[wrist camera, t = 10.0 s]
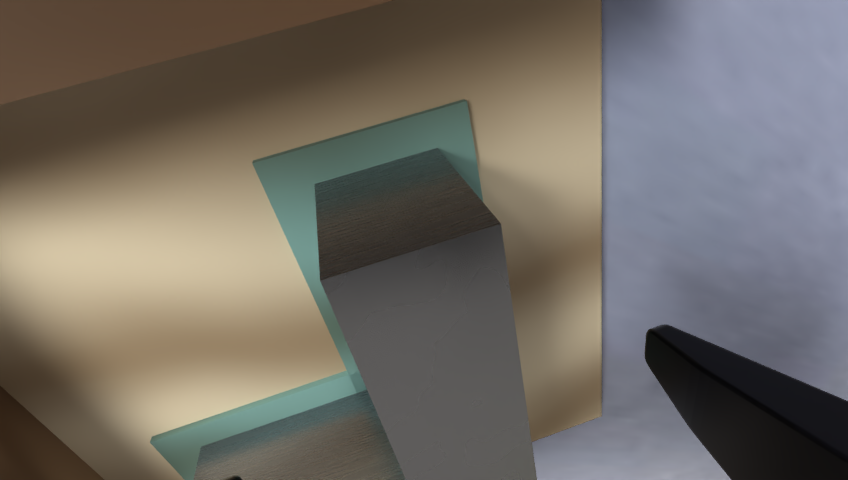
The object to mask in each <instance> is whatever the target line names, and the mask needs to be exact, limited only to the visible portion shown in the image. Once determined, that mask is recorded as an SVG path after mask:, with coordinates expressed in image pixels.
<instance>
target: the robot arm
mask: <svg viewBox="0 0 848 480" xmlns="http://www.w3.org/2000/svg"><path fill="white" fill-rule="evenodd" d="M645 359H646V362H647V364H648V366H649V368H650V369H651V371H652V372H653V374H654V375H655V377H656V378H657V380H658V381H659V383H660V384H661V386H662V387H663V389H664V390H665V392H666V393H667V395H668V396H669V398H670V399H671V401H672V402H673V404H674V405H675V407H676V408H677V410H678V411H679V413H680V415H681V416H682V418H683V419H684V420H685V422H686V423H687V425H688V426H689V428H690V429H691V430H692V431H693V433H694V434H695V435H696V437H697V438H698V439H699V440H700V442H701V443H702V444H703V445H704V447H705V448H706V449H707V450H708V451H709V453H710V454H711V455H712V456H713V458H714V459H715V460H716V461H717V463H718V464H719V465H720V466H721V467H722V469H723V470H724V471H725V472H726V474H727V475H728V476H729V477H730V479H731V480H848V401H846V400H844V399H841V398H839V397H837V396H834V395H832V394H830V393H827V392H825V391H823V390H820V389H818V388H816V387H813V386H811V385H809V384H806V383H804V382H801V381H799V380H797V379H794V378H792V377H790V376H787V375H785V374H783V373H780V372H778V371H776V370H773V369H771V368H769V367H766V366H764V365H761V364H759V363H757V362H754V361H752V360H750V359H747V358H745V357H743V356H740V355H738V354H736V353H733V352H731V351H729V350H726V349H724V348H721V347H719V346H717V345H714V344H712V343H710V342H707V341H705V340H703V339H700V338H698V337H696V336H693V335H691V334H689V333H686V332H684V331H681V330H679V329H677V328H674V327H672V326H669V325H660V326H657V327H654V328H652V329H649V330H648V331H647V333H646V343H645ZM222 480H242V479H241V477H240V476H237V475H234V476H231V477H228V478H225V479H222Z"/></svg>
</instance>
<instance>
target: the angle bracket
mask: <svg viewBox="0 0 848 480" xmlns="http://www.w3.org/2000/svg"><path fill="white" fill-rule="evenodd" d="M315 201H316V219H317V236H318V253H319V271H320V282H321V284H322V286H323V289H324V291H325V293H326V296H327V298H328V300H329V303H330V305H331V307H332V310H333V312H334V314H335V317H336V319H337V321H338V323H339V326H340V328H341V330H342V333H343V335H344V337H345V340H346V342H347V344H348V347H349V349H350V351H351V354H352V356H353V358H354V361H355V363H356V365H357V367H358V370H359V372H360V374H361V377H362V379H363V381H364V384H365V386H366V388H367V390H365V391H362V392H359V393H356V394H353V395H350V396H347V397H344V398H341V399H338V400H335V401H332V402H330V403H327V404H324V405H321V406H318V407H315V408H312V409H309V410H306V411H303V412H300V413H298V414H295V415H292V416H289V417H286V418H283V419H280V420H277V421H274V422H271V423H268V424H265V425H263V426H260V427H257V428H254V429H251V430H248V431H245V432H242V433H239V434H236V435H233V436H230V437H228V438H225V439H222V440H219V441H216V442H213V443H210V444H207V445H204V446H201V448H200V453H199V457H198V462H197V466H196V471H195V475H194V480H222V479H225V478H228V477H231V476H234V475H237V476H240V477H241V479H242V480H537V477H536V470H535V463H534V456H533V449H532V442H531V435H530V427H529V420H528V413H527V406H526V399H525V392H524V385H523V377H522V370H521V363H520V356H519V349H518V342H517V335H516V327H515V320H514V313H513V306H512V299H511V292H510V285H509V277H508V270H507V263H506V256H505V249H504V242H503V235H502V228H501V223H500V222H499V221H498V219H497V218H496V217H495V216H494V215H493V213H492V212H491V211H490V210H489V209H488V208H487V206H486V205H485V204H484V203H483V202H482V200H481V199H480V198H479V197H478V196H477V194H476V193H475V192H474V191H473V190H472V188H471V187H470V186H469V185H468V184H467V183H466V181H465V180H464V179H463V178H462V177H461V175H460V174H459V173H458V172H457V171H456V169H455V168H454V167H453V166H452V165H451V164H450V162H449V161H448V160H447V159H446V158H445V156H444V155H443V154H442V153H441V152H440V150H439V149H438V148H435V149H431V150H428V151H424V152H421V153H418V154H414V155H411V156H408V157H404V158H401V159H397V160H394V161H391V162H387V163H384V164H381V165H377V166H374V167H370V168H367V169H364V170H360V171H357V172H354V173H350V174H347V175H343V176H340V177H337V178H333V179H330V180H327V181H323V182H320V183H317V184H315Z"/></svg>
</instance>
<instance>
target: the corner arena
mask: <svg viewBox="0 0 848 480" xmlns="http://www.w3.org/2000/svg"><path fill="white" fill-rule="evenodd" d="M435 148H438V149H439V150H440V152H441V153H442V154H443V155H444V156H445V158H446V159H447V160H448V161H449V162H450V164H451V165H452V166H453V167H454V168H455V169H456V171H457V172H458V173H459V174H460V175H461V177H462V178H463V179H464V180H465V181H466V183H467V184H468V185H469V186H470V187H471V188H472V190H473V191H474V192H475V193H476V194H477V196H478V197H479V198H480V199H481V200H482V202H483V203H484V204H485V205H486V206H487V208H488V209H489V210H490V211H491V212H492V213H493V215H494V216H495V217H496V218H497V219H498V221H499V222H500V223H501V228H502V235H503V242H504V249H505V256H506V263H507V270H508V277H509V285H510V292H511V299H512V306H513V313H514V320H515V327H516V335H517V342H518V349H519V356H520V363H521V370H522V377H523V385H524V392H525V399H526V406H527V413H528V420H529V427H530V435H531V442H533V441H536V440H538V439H541V438H544V437H547V436H549V435H552V434H555V433H557V432H560V431H563V430H566V429H568V428H571V427H574V426H576V425H579V424H582V423H585V422H587V421H590V420H593V419H595V418H598V417H601V416H602V0H0V480H194V475H195V471H196V466H197V462H198V457H199V453H200V448H201V446H204V445H207V444H210V443H213V442H216V441H219V440H222V439H225V438H228V437H230V436H233V435H236V434H239V433H242V432H245V431H248V430H251V429H254V428H257V427H260V426H263V425H265V424H268V423H271V422H274V421H277V420H280V419H283V418H286V417H289V416H292V415H295V414H298V413H300V412H303V411H306V410H309V409H312V408H315V407H318V406H321V405H324V404H327V403H330V402H332V401H335V400H338V399H341V398H344V397H347V396H350V395H353V394H356V393H359V392H362V391H365V390H367V388H366V386H365V384H364V381H363V379H362V377H361V374H360V372H359V370H358V367H357V365H356V363H355V361H354V358H353V356H352V354H351V351H350V349H349V347H348V344H347V342H346V340H345V337H344V335H343V333H342V330H341V328H340V326H339V323H338V321H337V319H336V317H335V314H334V312H333V310H332V307H331V305H330V303H329V300H328V298H327V296H326V293H325V291H324V289H323V286H322V284H321V282H320V271H319V253H318V236H317V219H316V201H315V184H317V183H320V182H323V181H327V180H330V179H333V178H337V177H340V176H343V175H347V174H350V173H354V172H357V171H360V170H364V169H367V168H370V167H374V166H377V165H381V164H384V163H387V162H391V161H394V160H397V159H401V158H404V157H408V156H411V155H414V154H418V153H421V152H424V151H428V150H431V149H435Z"/></svg>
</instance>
